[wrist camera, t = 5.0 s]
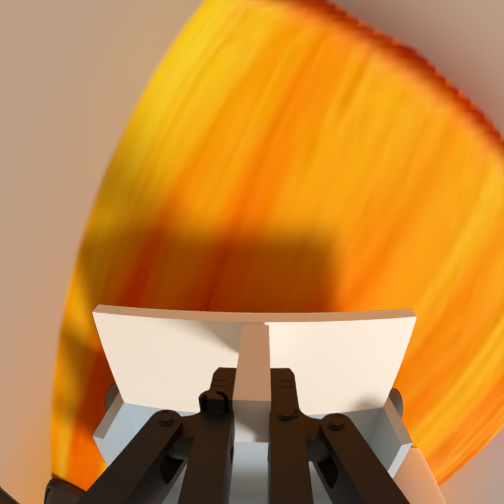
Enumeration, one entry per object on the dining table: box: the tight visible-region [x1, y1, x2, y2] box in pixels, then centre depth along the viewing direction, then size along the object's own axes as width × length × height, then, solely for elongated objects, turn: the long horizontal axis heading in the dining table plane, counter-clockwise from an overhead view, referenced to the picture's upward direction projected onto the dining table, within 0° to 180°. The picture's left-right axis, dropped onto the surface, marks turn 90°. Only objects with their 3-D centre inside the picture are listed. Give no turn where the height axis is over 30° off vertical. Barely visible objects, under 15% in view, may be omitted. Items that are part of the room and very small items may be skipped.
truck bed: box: [93, 384, 413, 504], centre depth 21 cm, size 27×18×14 cm, turn 90°
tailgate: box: [92, 304, 417, 415], centre depth 19 cm, size 21×1×9 cm
